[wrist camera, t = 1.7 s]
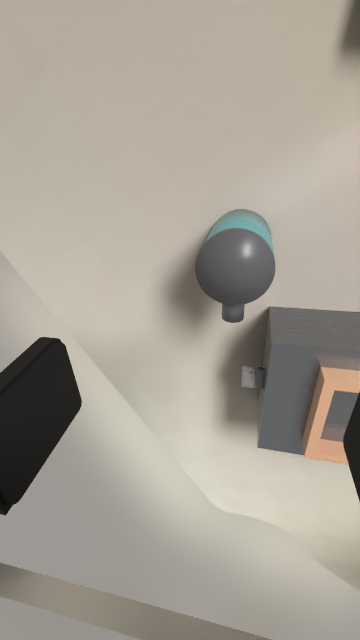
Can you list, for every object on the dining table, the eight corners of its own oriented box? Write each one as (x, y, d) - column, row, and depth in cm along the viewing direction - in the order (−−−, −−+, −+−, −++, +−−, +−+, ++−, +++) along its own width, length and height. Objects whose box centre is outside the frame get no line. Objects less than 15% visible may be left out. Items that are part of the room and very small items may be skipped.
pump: (274, 209, 23) (280, 230, 17) (265, 289, 26) (267, 330, 20) (210, 209, 24) (194, 229, 18) (209, 286, 27) (196, 324, 21)
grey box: (477, 319, 23) (558, 383, 17) (421, 423, 29) (466, 498, 23) (246, 305, 27) (243, 352, 21) (239, 399, 33) (235, 457, 27)
